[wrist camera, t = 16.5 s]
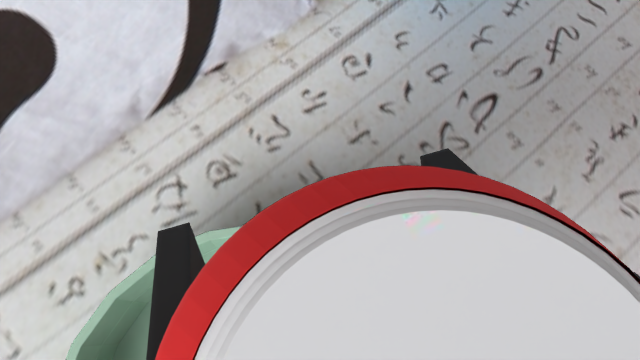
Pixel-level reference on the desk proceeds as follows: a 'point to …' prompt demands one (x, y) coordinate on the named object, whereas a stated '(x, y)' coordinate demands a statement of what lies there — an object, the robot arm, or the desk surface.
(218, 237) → the bowl
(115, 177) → the desk surface
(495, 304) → the beverage can
